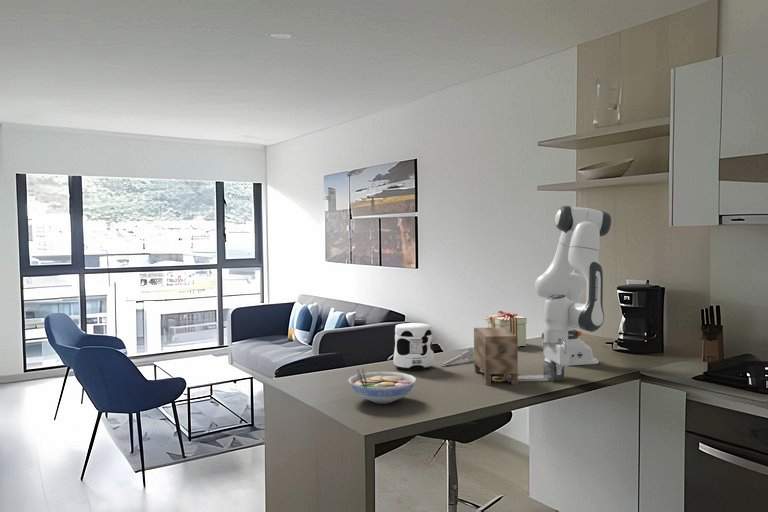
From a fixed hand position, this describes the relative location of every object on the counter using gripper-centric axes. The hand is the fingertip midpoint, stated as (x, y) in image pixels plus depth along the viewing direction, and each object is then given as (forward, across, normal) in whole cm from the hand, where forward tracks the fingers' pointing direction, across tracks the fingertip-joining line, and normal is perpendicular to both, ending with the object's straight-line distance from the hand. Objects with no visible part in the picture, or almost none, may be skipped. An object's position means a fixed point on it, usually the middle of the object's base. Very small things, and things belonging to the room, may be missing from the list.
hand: (556, 373), depth 223 cm
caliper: (+3, +32, +33) cm, 46 cm away
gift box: (+2, +72, +2) cm, 72 cm away
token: (+3, 0, +22) cm, 23 cm away
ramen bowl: (+2, -26, +68) cm, 73 cm away
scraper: (+2, 0, +8) cm, 9 cm away
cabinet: (+2, +4, +23) cm, 23 cm away
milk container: (+2, +24, +53) cm, 58 cm away
